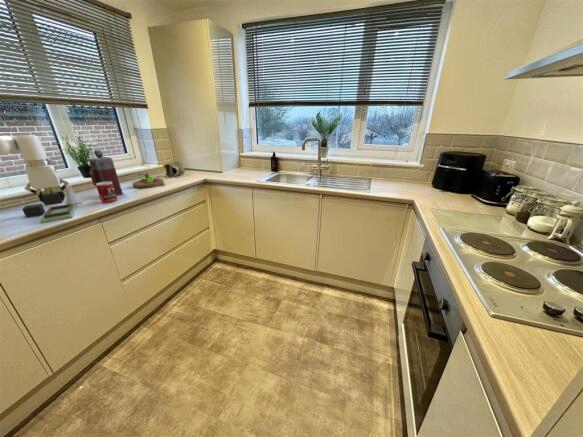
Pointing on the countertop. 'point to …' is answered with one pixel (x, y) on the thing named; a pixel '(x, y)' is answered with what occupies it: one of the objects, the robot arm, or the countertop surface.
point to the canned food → (106, 192)
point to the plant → (147, 182)
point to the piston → (174, 169)
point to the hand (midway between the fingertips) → (53, 200)
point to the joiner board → (59, 213)
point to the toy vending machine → (104, 171)
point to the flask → (71, 196)
